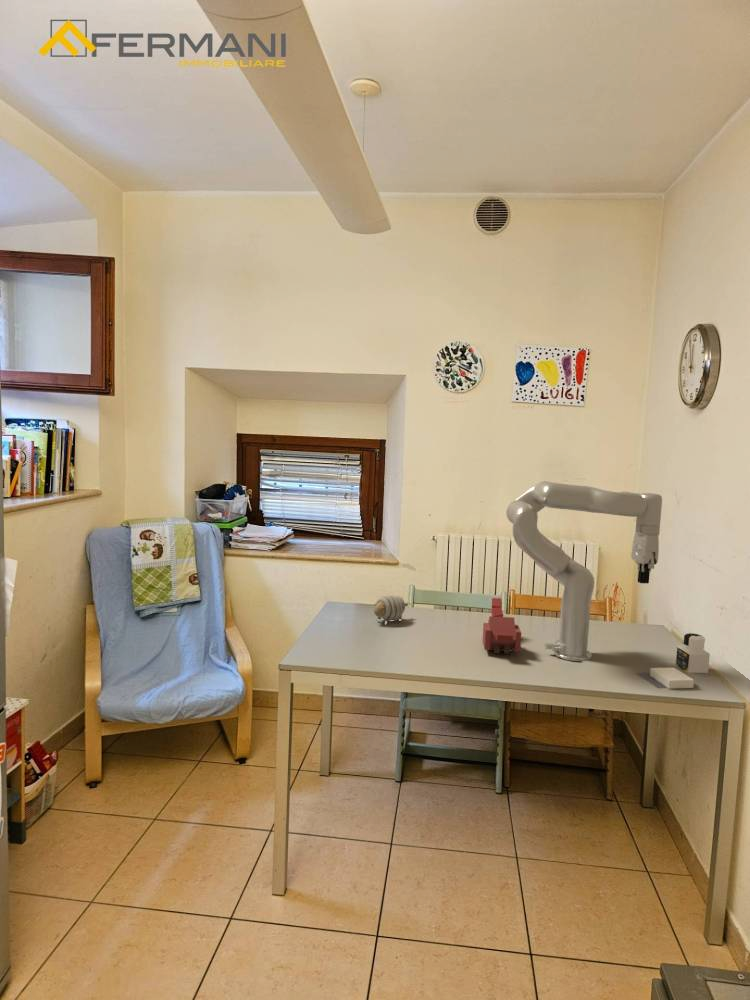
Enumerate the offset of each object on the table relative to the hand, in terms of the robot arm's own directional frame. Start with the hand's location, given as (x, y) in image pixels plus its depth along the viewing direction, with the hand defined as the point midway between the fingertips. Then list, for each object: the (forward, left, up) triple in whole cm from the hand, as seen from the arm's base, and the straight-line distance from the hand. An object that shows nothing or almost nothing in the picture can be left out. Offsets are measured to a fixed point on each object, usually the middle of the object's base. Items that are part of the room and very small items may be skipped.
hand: (643, 582), depth 214 cm
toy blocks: (-45, +13, -27) cm, 54 cm away
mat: (-2, -21, -26) cm, 34 cm away
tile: (-2, -18, -24) cm, 30 cm away
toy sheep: (-79, +43, -27) cm, 94 cm away
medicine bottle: (+12, -13, -27) cm, 32 cm away
